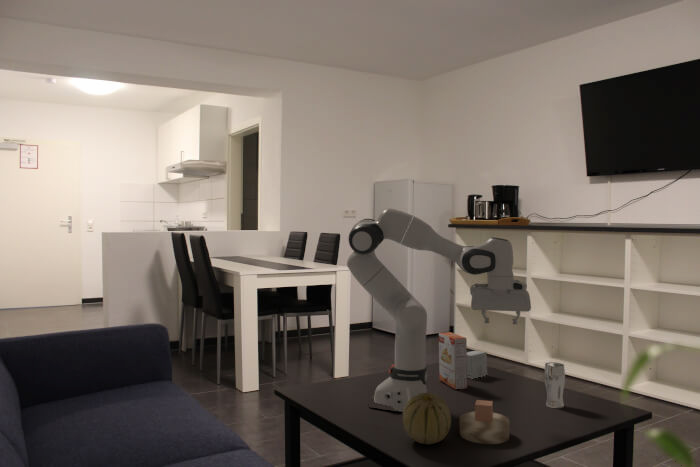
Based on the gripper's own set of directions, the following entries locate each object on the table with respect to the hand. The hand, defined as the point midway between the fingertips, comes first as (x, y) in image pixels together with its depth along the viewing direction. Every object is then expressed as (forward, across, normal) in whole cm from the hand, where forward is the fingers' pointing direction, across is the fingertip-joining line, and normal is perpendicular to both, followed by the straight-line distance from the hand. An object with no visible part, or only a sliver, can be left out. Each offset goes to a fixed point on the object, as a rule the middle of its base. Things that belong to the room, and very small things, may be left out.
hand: (500, 323), depth 195 cm
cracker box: (+31, -21, +30) cm, 48 cm away
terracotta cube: (+26, -4, -24) cm, 36 cm away
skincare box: (+31, -14, +47) cm, 58 cm away
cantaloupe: (+31, -20, -35) cm, 51 cm away
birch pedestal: (+31, -4, -24) cm, 39 cm away
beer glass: (+31, +18, +13) cm, 38 cm away
